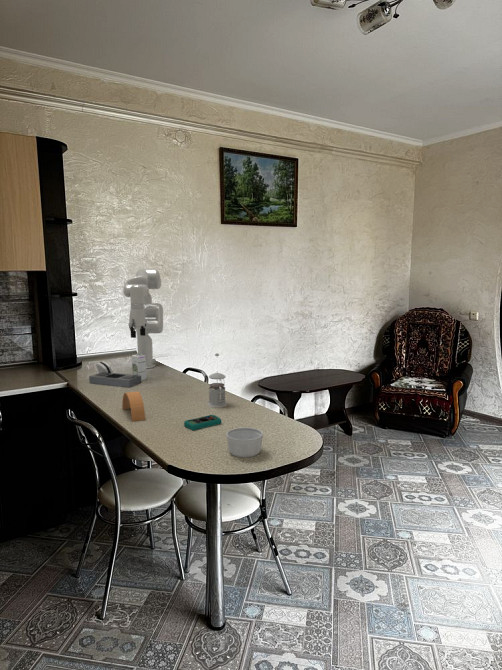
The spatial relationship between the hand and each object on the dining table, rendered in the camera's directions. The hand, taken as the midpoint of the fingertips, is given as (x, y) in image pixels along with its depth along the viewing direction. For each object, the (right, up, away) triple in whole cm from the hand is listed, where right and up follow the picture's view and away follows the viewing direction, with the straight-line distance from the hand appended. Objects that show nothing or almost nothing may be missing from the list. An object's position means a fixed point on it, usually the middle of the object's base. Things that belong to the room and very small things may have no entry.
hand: (138, 336), depth 270 cm
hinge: (-22, -24, +11) cm, 35 cm away
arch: (+12, -35, -60) cm, 70 cm away
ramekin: (+63, -41, -101) cm, 126 cm away
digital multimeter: (+45, -37, -73) cm, 94 cm away
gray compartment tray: (-12, -26, -5) cm, 29 cm away
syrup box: (0, -25, +4) cm, 26 cm away
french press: (+49, -33, -43) cm, 73 cm away
